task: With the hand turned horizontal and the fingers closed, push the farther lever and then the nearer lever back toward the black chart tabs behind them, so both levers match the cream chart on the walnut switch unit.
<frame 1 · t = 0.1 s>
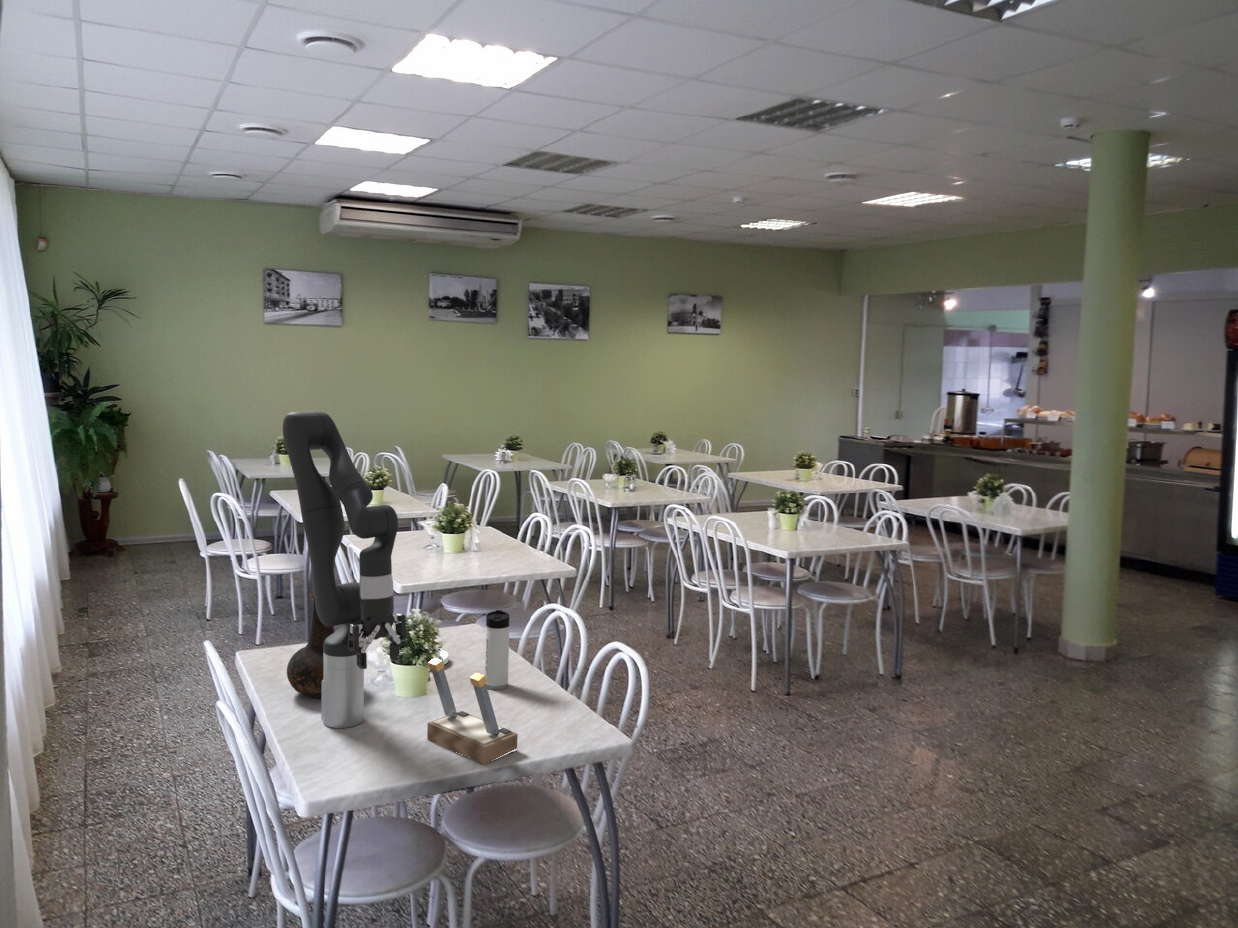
hand: (378, 664, 208), 17 cm above the table, tool pointing down, fingers open, 8 cm apart
travel mug: (496, 686, 246), on the table
plastic lid: (423, 664, 262), on the table
switch unit: (471, 745, 207), on the table
lever 1: (443, 689, 208), point 12 cm above the table, hinge at 20.0°
lever 2: (485, 705, 200), point 12 cm above the table, hinge at 20.0°
brown vase: (323, 693, 235), on the table
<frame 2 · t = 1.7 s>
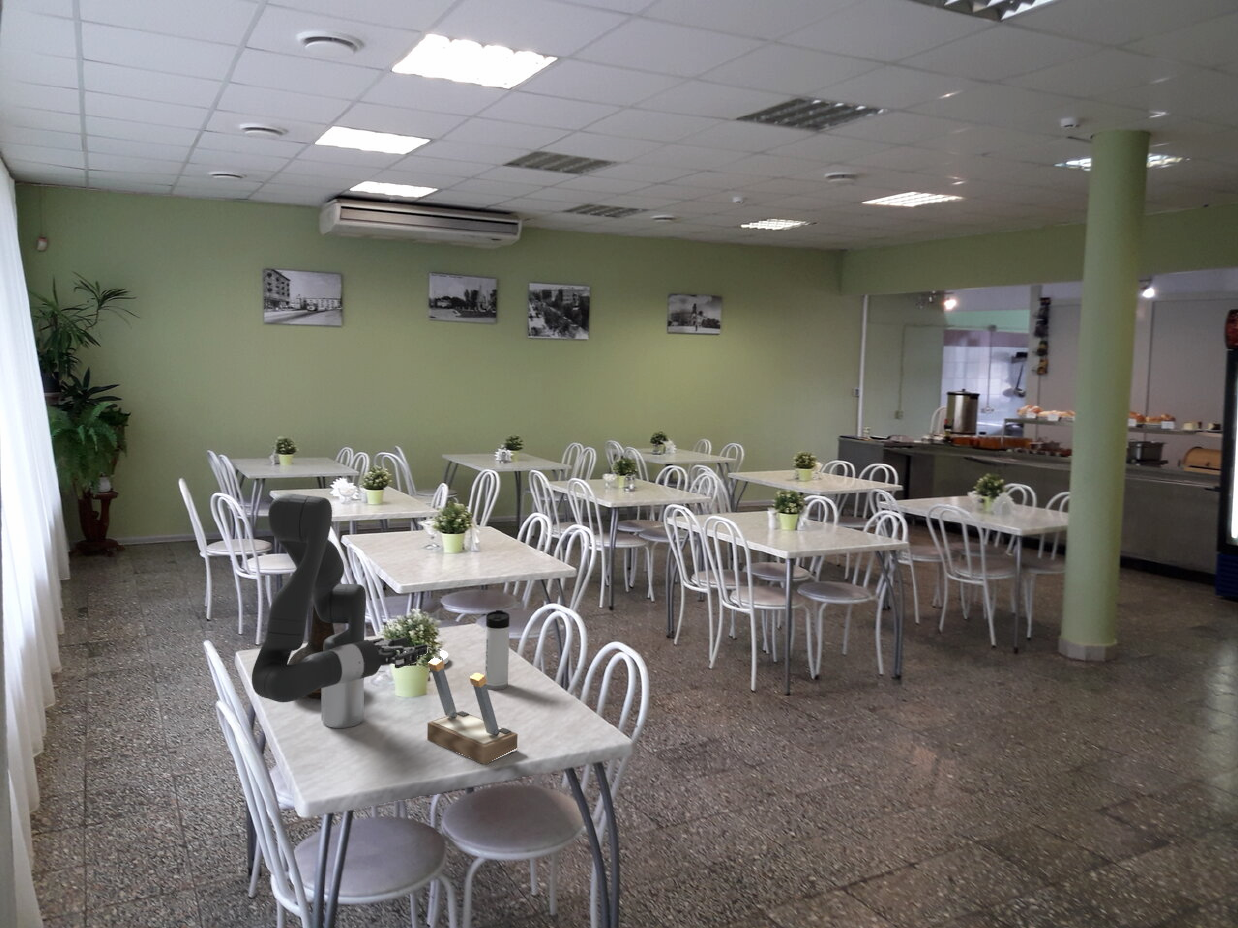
hand: (416, 645, 201), 24 cm above the table, tool horizontal, fingers open, 6 cm apart
nothing on the table moved.
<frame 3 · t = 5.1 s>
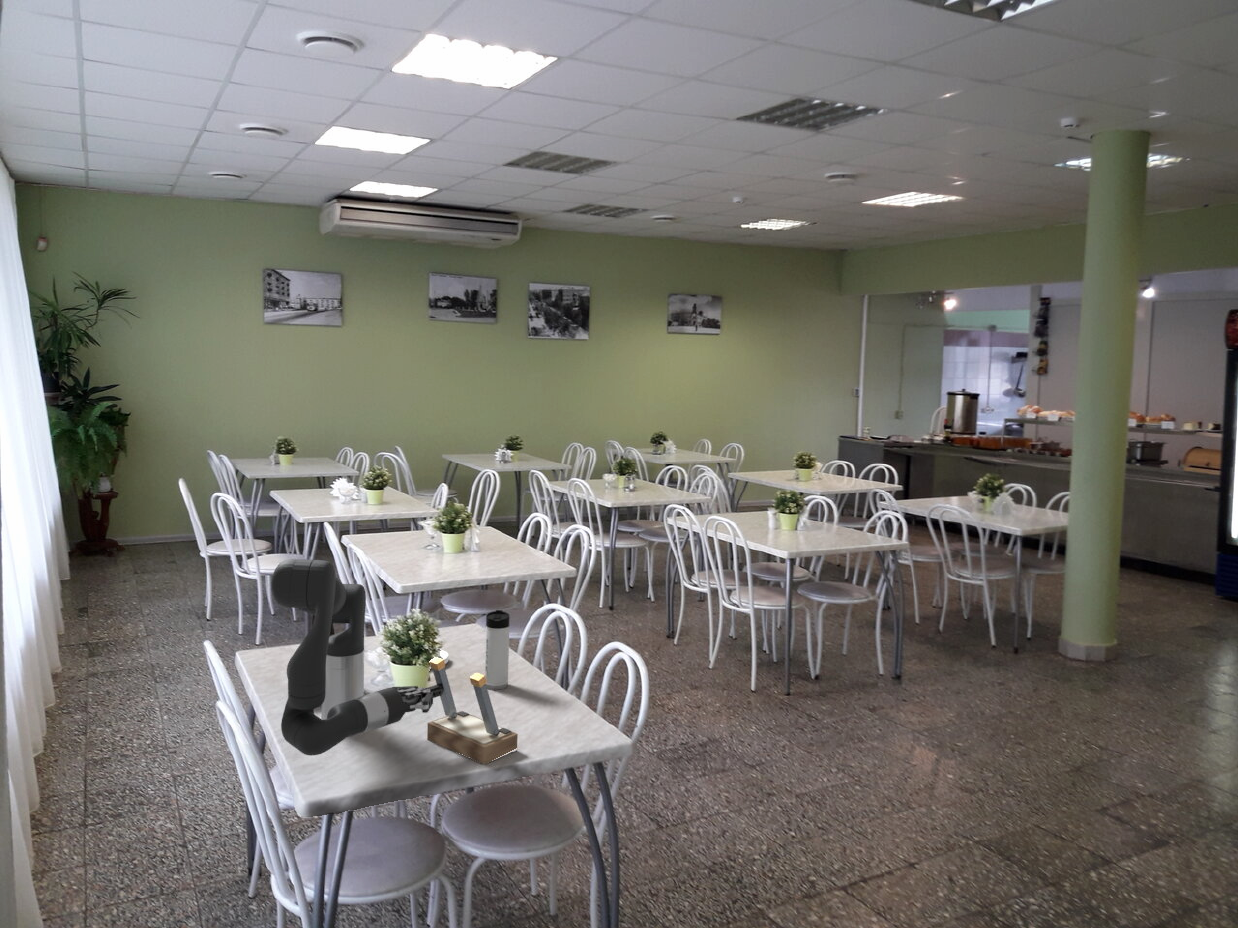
hand: (440, 689, 208), 12 cm above the table, tool horizontal, fingers closed
lever 1: (444, 688, 209), point 12 cm above the table, hinge at 18.5°, touching gripper
everything else where it was.
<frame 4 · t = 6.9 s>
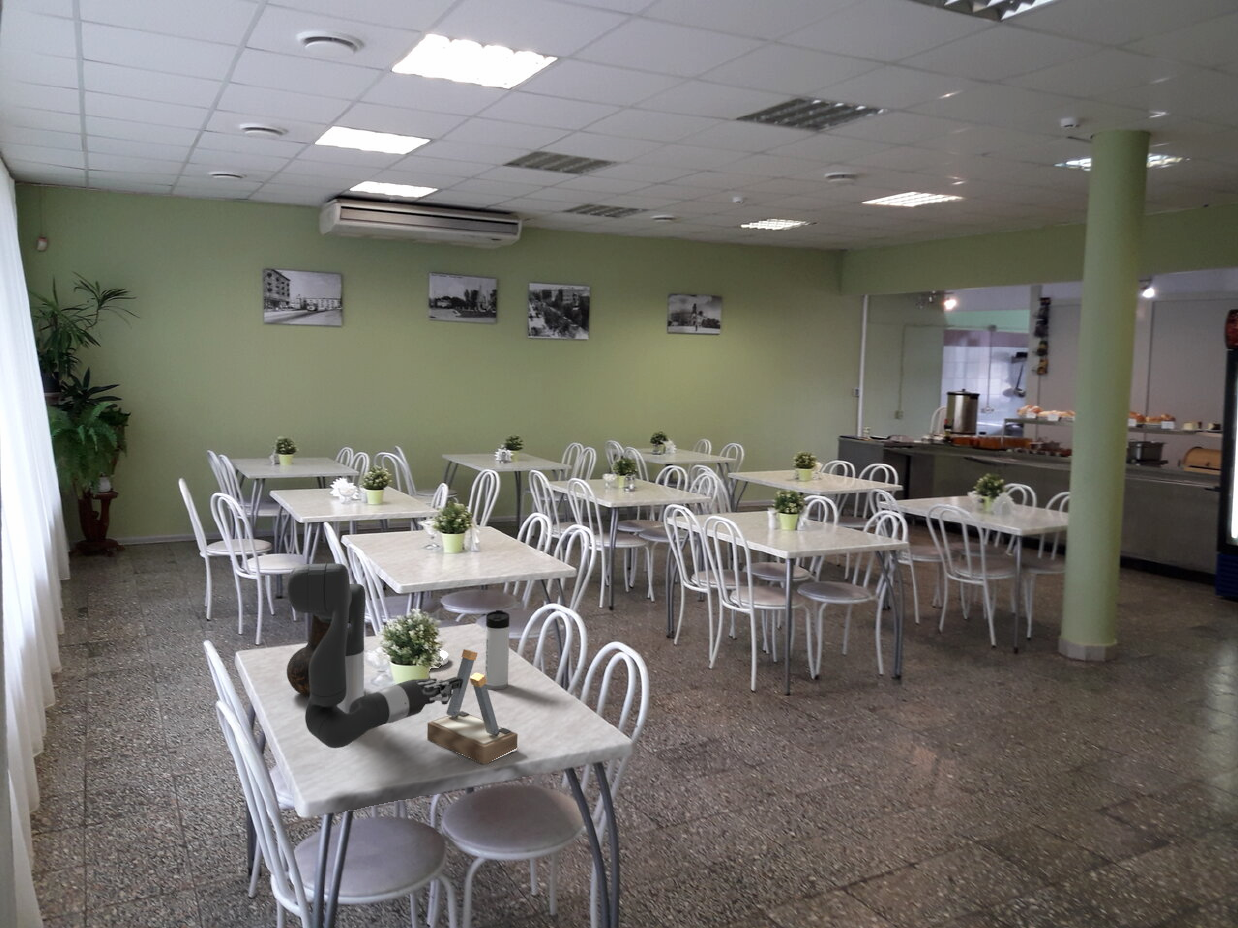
hand: (458, 681, 212), 13 cm above the table, tool horizontal, fingers closed
lever 1: (461, 683, 212), point 12 cm above the table, hinge at -20.5°, touching gripper
everything else where it was.
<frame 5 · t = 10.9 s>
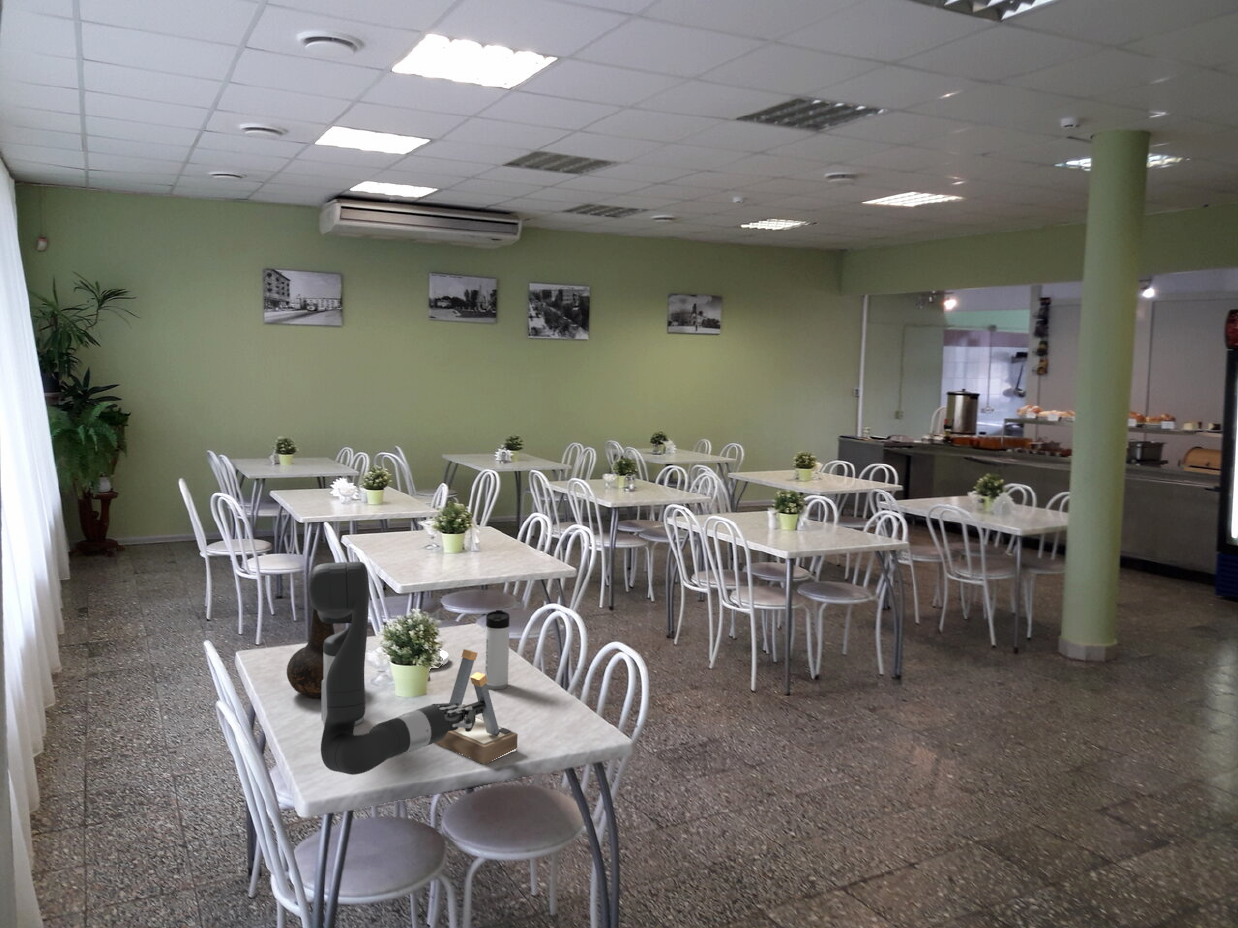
hand: (482, 706, 199), 12 cm above the table, tool horizontal, fingers closed
lever 1: (461, 683, 212), point 12 cm above the table, hinge at -20.5°
lever 2: (485, 705, 200), point 12 cm above the table, hinge at 19.2°, touching gripper
everything else where it was.
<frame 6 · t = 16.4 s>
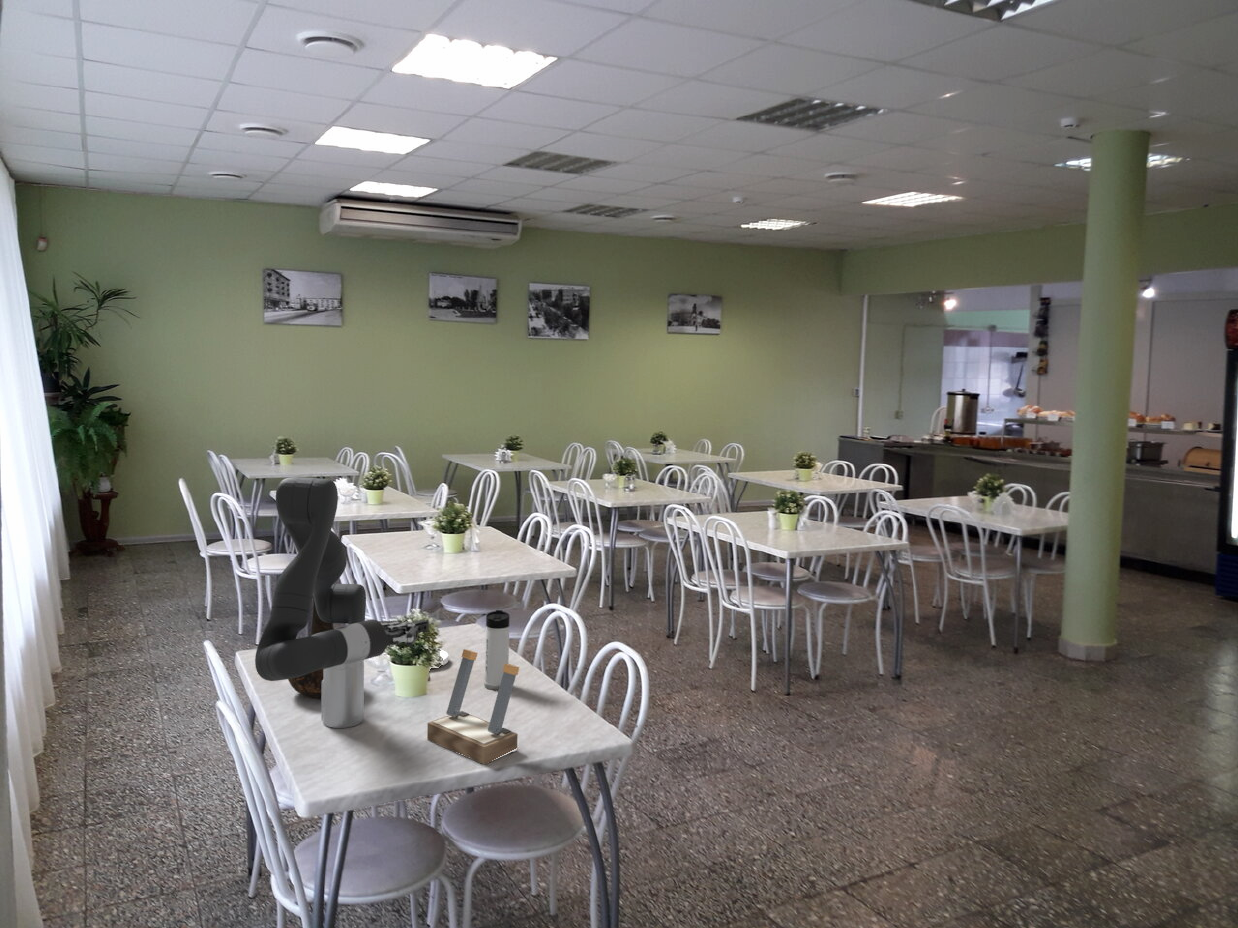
hand: (426, 624, 196), 30 cm above the table, tool horizontal, fingers closed
lever 2: (502, 699, 204), point 12 cm above the table, hinge at -19.7°
everything else where it was.
at the end: lever 1 at -20° (first picture: +20°); lever 2 at -20° (first picture: +20°) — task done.
